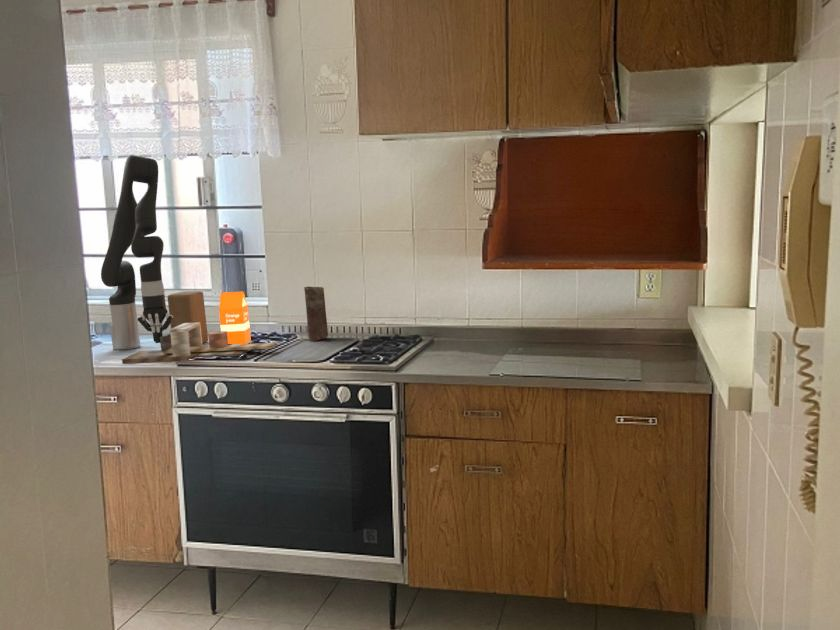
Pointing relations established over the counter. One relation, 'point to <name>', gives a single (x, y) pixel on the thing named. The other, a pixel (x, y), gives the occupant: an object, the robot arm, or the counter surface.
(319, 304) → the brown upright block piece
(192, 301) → the wooden block
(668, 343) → the counter surface
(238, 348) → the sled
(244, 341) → the orange juice
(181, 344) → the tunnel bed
